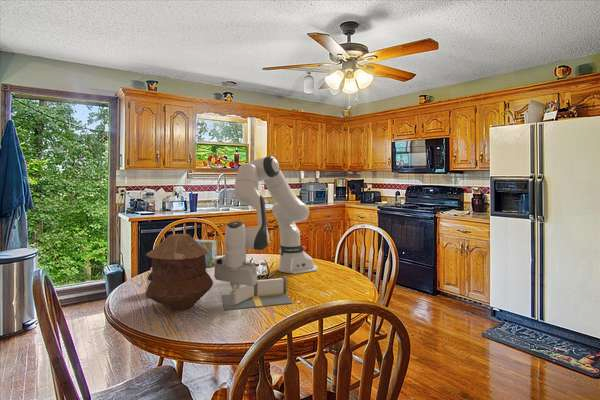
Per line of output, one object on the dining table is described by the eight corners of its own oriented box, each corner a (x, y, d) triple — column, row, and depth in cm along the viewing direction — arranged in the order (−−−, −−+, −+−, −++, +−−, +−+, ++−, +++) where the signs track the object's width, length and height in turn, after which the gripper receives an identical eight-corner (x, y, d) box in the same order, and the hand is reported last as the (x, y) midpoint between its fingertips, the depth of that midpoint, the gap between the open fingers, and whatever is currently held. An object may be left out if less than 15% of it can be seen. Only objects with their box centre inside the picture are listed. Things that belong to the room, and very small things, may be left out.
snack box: (217, 265, 210) (216, 240, 209) (212, 267, 205) (211, 242, 204) (187, 262, 217) (186, 238, 216) (181, 264, 212) (180, 239, 211)
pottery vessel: (156, 325, 127) (153, 243, 124) (140, 304, 147) (137, 233, 145) (223, 309, 142) (221, 235, 140) (200, 292, 163) (199, 227, 160)
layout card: (282, 289, 165) (282, 288, 165) (292, 303, 148) (292, 302, 148) (222, 295, 158) (222, 294, 158) (224, 310, 140) (224, 309, 140)
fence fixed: (285, 291, 162) (285, 276, 161) (286, 293, 160) (286, 277, 159) (252, 294, 157) (252, 278, 157) (253, 296, 156) (252, 279, 155)
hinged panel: (251, 294, 156) (251, 281, 156) (254, 295, 156) (254, 281, 155) (233, 303, 146) (233, 289, 145) (236, 304, 145) (236, 289, 144)
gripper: (260, 262, 146) (260, 294, 147) (221, 256, 155) (221, 286, 156) (251, 265, 140) (251, 299, 142) (211, 259, 150) (212, 291, 151)
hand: (235, 292), depth 149 cm, fingers closed
